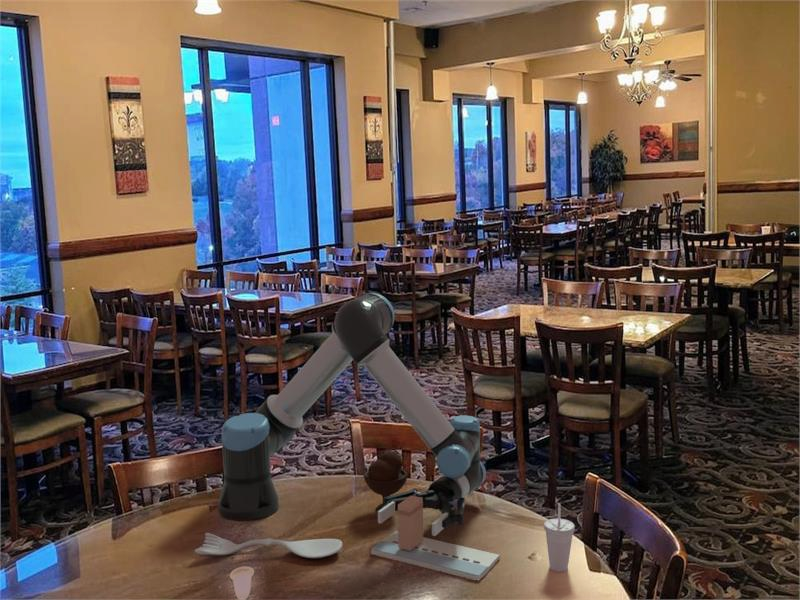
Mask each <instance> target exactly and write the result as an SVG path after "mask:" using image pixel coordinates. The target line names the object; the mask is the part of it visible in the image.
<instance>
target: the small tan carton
mask: <svg viewBox="0 0 800 600" xmlns="http://www.w3.org/2000/svg"><path fill="white" fill-rule="evenodd" d="M397 531H398V548H401V549H405V550H409V551H411V550H412V549H413V548H414V547H416V546H417V545H418V544H419V543H420V542H422V541H423V537H424V508H423V498H421V497H416V496H410V497H408V498H407V499H405V500H404V501H402V502H401V503H400V504H398V511H397Z"/></svg>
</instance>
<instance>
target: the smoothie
mask: <svg viewBox="0 0 800 600" xmlns="http://www.w3.org/2000/svg"><path fill="white" fill-rule="evenodd" d="M561 504H562V503H557V518H551V519H547V520H546V521H544V524H543V529H544V531H545V538H546V545H547V546H546V547H547V553H548V562H549V563H548V564H549V569H550V570H552V571H554V572H557V573H562V572H566V571H567V570H568V568H569V563H570V562H569V561H570V557H571V556H570V555H571V548H572V543H573V542H572V540H573V533H575V531H576V529H575V526H576V525H575V524H574V523H573V522H572V521H571V520H568V519H564V518H561V517H562V516H561V515H562V513H561V510H562V509H561V508H562V507H561V506H562V505H561Z"/></svg>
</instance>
